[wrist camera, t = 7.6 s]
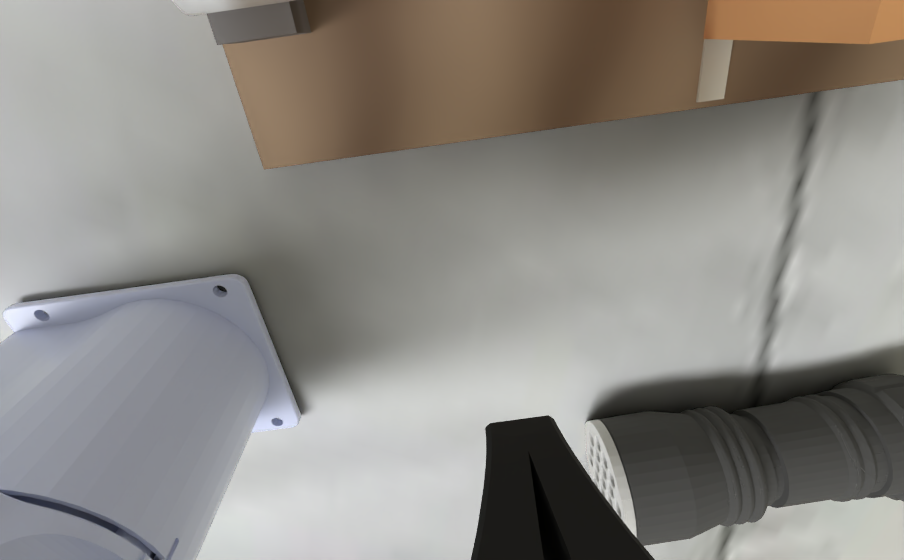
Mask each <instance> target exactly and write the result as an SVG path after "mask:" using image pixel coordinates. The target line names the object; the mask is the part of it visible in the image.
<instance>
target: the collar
mask: <svg viewBox="0 0 904 560" xmlns="http://www.w3.org/2000/svg"><path fill="white" fill-rule="evenodd" d="M703 39H720V40H751V41H782V42H813V43H844V44H874V43H881V42H888V41H895V40H902V39H904V0H708V5H707V13H706V21H705V29H704V37H703Z"/></svg>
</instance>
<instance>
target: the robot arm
mask: <svg viewBox="0 0 904 560" xmlns="http://www.w3.org/2000/svg"><path fill="white" fill-rule="evenodd" d="M217 285H219V286H223V287H224V288H225V289H226V290H227V292H222V291H220V290H219V289H218V287H217ZM43 311H45V312H46V313H47V314H48V315H47V314H45V313H44V312H43ZM3 317H4V319H5V321H6V322H7V324H8V325H9V326H10V328H11V329H12V330H13V332H14V333H13V334H12V335H11V336H9V337H8V338H7V339H5V340H4V341H2V342H1V343H0V560H196V558H197V556H198V553H199V551H200V549H201V547H202V544H203V542H204V540H205V537H206V535H207V533H208V531H209V528H210V526H211V524H212V521H213V519H214V517H215V514H216V512H217V510H218V508H219V505H220V503H221V501H222V498H223V496H224V494H225V492H226V489H227V487H228V485H229V482H230V480H231V478H232V475H233V473H234V471H235V469H236V466H237V464H238V462H239V459H240V457H241V455H242V453H243V450H244V448H245V446H246V443H247V441H248V439H249V437H250V434H251V433H253V432H260V431H268V430H276V429H283V428H291V427H295V426H296V425H298V423H299V421H300V418H301V413H300V411H299V408H298V406H297V403H296V401H295V398H294V396H293V393H292V391H291V388H290V386H289V383H288V381H287V378H286V376H285V373H284V371H283V368H282V366H281V363H280V361H279V358H278V356H277V353H276V351H275V348H274V345H273V343H272V340H271V338H270V335H269V333H268V330H267V328H266V325H265V323H264V320H263V318H262V315H261V313H260V310H259V308H258V305H257V303H256V300H255V298H254V295H253V293H252V290H251V288H250V285H249V283H248V281H247V280H246V279H245V278H244V277H242V276H240V275H238V274H228V275H220V276H213V277H206V278H198V279H191V280H184V281H176V282H169V283H162V284H154V285H147V286H140V287H132V288H125V289H118V290H110V291H103V292H96V293H88V294H81V295H74V296H66V297H59V298H52V299H44V300H37V301H30V302H22V303H16V304H13V305H11V306H9V307H8V308H6V309H5V310H4V312H3ZM276 418H280V419H282V420H280V419H276ZM485 430H486V469H485V480H484V489H483V495H482V502H481V509H480V515H479V522H478V528H477V533H476V538H475V543H474V548H473V552H472V557H471V560H654V558H653V557H652V556H651V555H650V554H649V552H648V551H647V550H646V549H645V548H644V546H643V545H642V544H641V543H640V542H639V540H638V539H637V538H636V537H635V535H634V534H633V533H632V532H631V531H630V529H629V528H628V527H627V526H626V524H625V523H624V522H623V520H622V519H621V518H620V517H619V515H618V514H617V513H616V511H615V510H614V509H613V507H612V506H611V505H610V503H609V502H608V501H607V499H606V498H605V497H604V495H603V494H602V493H601V491H600V490H599V489H598V487H597V486H596V485H595V483H594V482H593V481H592V479H591V478H590V476H589V475H588V473H587V472H586V471H585V469H584V468H583V466H582V465H581V463H580V462H579V460H578V459H577V457H576V456H575V454H574V453H573V451H572V450H571V448H570V446H569V445H568V443H567V442H566V440H565V438H564V437H563V435H562V433H561V431H560V430H559V428H558V426H557V424H556V422H555V420H554V419H553V418H551V417H550V416H541V417H533V418H526V419H518V420H511V421H504V422H496V423H490V424H489V425H488V426H487V427H486V428H485Z"/></svg>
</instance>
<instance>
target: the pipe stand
mask: <svg viewBox="0 0 904 560" xmlns="http://www.w3.org/2000/svg"><path fill="white" fill-rule="evenodd" d="M172 1H173V3H174V4H175V5H176V6H177V7H178V8H179V9H180V10H181V11H182V12H183V13H185V14H187V15H189V16H194V15H201V14H207V16H208V19H209V22H210V25H211V28H212V31H213V34H214V37H215V40H216V43H217V45H221V44H222V45H223V48H224V51H225V54H226V57H227V60H228V63H229V66H230V69H231V72H232V75H233V78H234V81H235V84H236V87H237V90H238V93H239V96H240V99H241V102H242V105H243V108H244V111H245V114H246V117H247V120H248V123H249V126H250V129H251V132H252V135H253V138H254V141H255V144H256V147H257V150H258V153H259V156H260V159H261V162H262V165H263V168H264V169H271V168H278V167H285V166H292V165H299V164H306V163H313V162H320V161H328V160H335V159H342V158H349V157H356V156H363V155H370V154H377V153H384V152H392V151H399V150H406V149H413V148H420V147H427V146H434V145H441V144H449V143H456V142H463V141H470V140H477V139H484V138H491V137H498V136H505V135H513V134H520V133H527V132H534V131H541V130H548V129H555V128H562V127H569V126H577V125H584V124H591V123H598V122H605V121H612V120H619V119H626V118H633V117H641V116H648V115H655V114H662V113H669V112H676V111H683V110H690V109H697V108H705V107H712V106H719V105H726V104H733V103H740V102H747V101H754V100H761V99H769V98H776V97H783V96H790V95H797V94H804V93H811V92H818V91H826V90H833V89H840V88H847V87H854V86H861V85H868V84H875V83H882V82H890V81H897V80H904V39H902V40H895V41H888V42H881V43H874V44H844V43H813V42H782V41H751V40H720V39H703V37H704V29H705V21H706V13H707V5H708V0H172Z"/></svg>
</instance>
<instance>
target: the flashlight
mask: <svg viewBox="0 0 904 560" xmlns="http://www.w3.org/2000/svg"><path fill="white" fill-rule="evenodd" d="M585 441H586V455H587V461H588V465H589V470H590V475H591V479H592V481H593V482H594V483H595V485H596V486H597V487H598V489H599V490H600V491H601V493H602V494H603V495H604V497H605V498H606V499H607V501H608V502H609V503H610V505H611V506H612V507H613V509H614V510H615V511H616V513H617V514H618V515H619V517H620V518H621V519H622V520H623V522H624V523H625V524H626V526H627V527H628V528H629V529H630V531H631V532H632V533H633V534H634V535H635V537H636V538H637V539H638V540H639V542H640V543H641V544H642V545H643V546H645V545H651V544H658V543H664V542H671V541H677V540H684V539H690V538H693V537H695V536H697V535H699V534H701V533H703V532H705V531H707V530H709V529H711V528H713V527H715V526H717V525H719V524H720V525H723V526H731V525H733V524H734V523H735V524H744V523H745V522H751V523H752V522H756V521H758V520H759V519H761V518H762V516H763V515H764V513H765V511H766V508H767V506H771V507H775V508H779V507H786V506H792V505H799V504H805V503H811V502H818V501H824V500H833V501H841V502H845V501H850V500H851V499H856V500H858V499H863V498H865V497H868V498H876V497H883V496H886V497H889V498H891V499H894V500H902V501H904V376H901V375H896V374H885V375H879V376H873V377H867V378H861V379H855V380H850V381H849V382H843V383H840V384H838V385H836V386H835V387H834V388H833V389H832V390H830V391H824V392H820V393H817V394H815V395H806V396H804V397H794V398H791V399H789V400H787V401H786V402H784V403H778V404H772V405H766V406H760V407H754V408H748V409H742V410H737V411H735V412H733V413H732V414H729V413H727V412H726V411H724V410H722V409H720V408H718V407H714V406H707V407H705V408H696V409H694V410H684V411H682V412H681V413H680V414H678V413H666V412H653V411H645V412H639V413H633V414H627V415H621V416H615V417H610V418H604V419H599V420H591V421H587V422H586V424H585Z"/></svg>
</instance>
